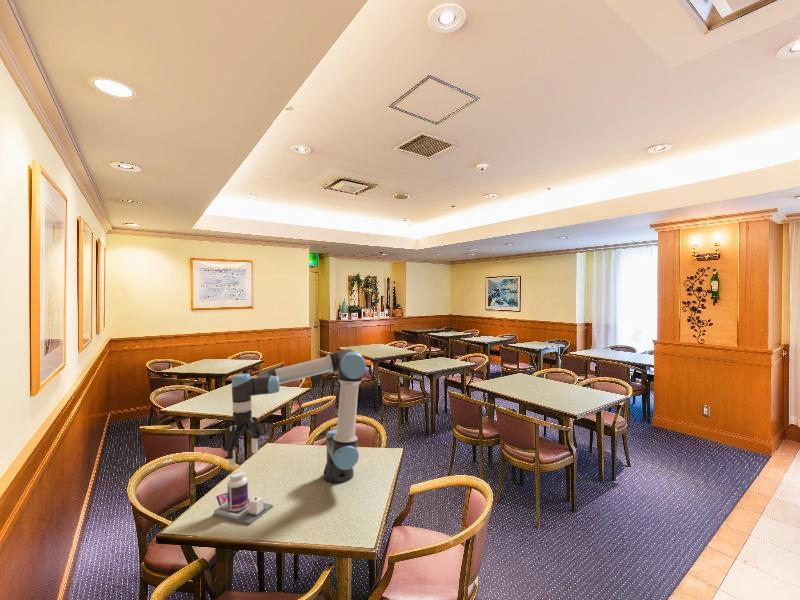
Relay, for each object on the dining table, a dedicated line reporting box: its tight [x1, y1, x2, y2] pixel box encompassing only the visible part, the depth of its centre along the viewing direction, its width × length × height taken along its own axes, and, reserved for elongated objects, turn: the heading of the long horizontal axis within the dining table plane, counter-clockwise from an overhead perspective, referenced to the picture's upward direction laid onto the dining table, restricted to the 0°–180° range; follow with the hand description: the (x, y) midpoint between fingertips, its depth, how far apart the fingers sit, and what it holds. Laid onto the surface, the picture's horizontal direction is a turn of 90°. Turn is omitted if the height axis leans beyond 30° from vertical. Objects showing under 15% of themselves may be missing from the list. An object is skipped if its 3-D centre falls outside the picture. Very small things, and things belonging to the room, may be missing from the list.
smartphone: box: [216, 492, 228, 507], centre depth 173 cm, size 8×1×15 cm
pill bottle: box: [226, 470, 249, 512], centre depth 165 cm, size 8×8×14 cm
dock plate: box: [212, 495, 274, 526], centre depth 163 cm, size 19×14×7 cm
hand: (243, 459), depth 167 cm, fingers open, 13 cm apart
